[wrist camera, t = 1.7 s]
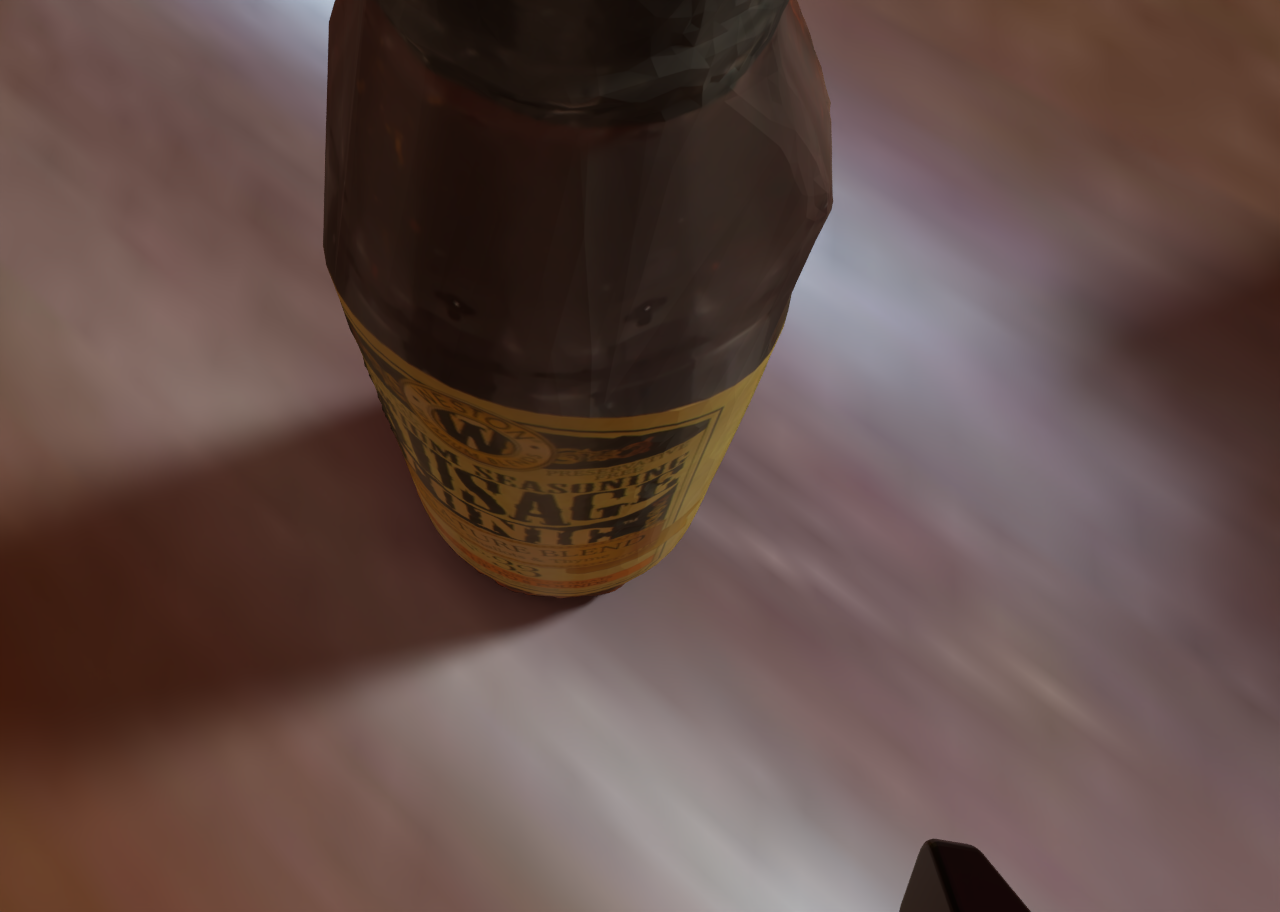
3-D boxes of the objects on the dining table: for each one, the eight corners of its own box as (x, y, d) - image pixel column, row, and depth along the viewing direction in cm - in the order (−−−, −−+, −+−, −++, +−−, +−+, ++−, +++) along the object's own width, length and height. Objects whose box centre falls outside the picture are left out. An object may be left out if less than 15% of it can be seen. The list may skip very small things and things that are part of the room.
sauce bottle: (381, 547, 23) (-509, -623, 4) (501, 316, 25) (237, -1151, 7) (652, 664, 23) (938, -123, 4) (754, 418, 25) (1262, -880, 6)
